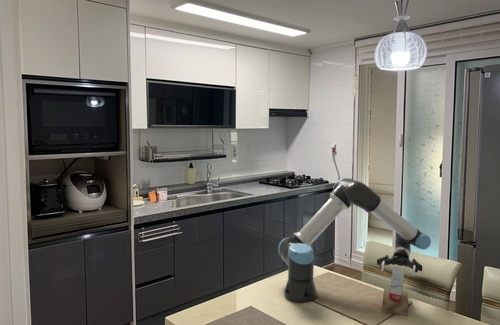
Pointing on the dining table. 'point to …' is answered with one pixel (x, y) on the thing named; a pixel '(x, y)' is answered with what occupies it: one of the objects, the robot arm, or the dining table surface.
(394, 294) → the ink box
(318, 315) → the dining table surface
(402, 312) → the walnut block
